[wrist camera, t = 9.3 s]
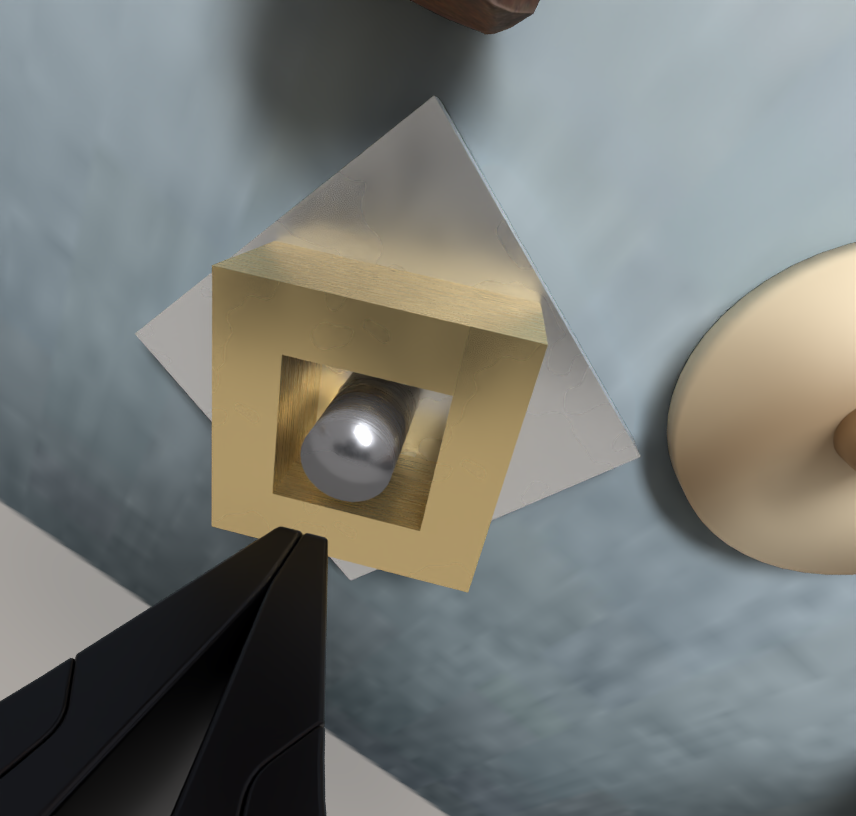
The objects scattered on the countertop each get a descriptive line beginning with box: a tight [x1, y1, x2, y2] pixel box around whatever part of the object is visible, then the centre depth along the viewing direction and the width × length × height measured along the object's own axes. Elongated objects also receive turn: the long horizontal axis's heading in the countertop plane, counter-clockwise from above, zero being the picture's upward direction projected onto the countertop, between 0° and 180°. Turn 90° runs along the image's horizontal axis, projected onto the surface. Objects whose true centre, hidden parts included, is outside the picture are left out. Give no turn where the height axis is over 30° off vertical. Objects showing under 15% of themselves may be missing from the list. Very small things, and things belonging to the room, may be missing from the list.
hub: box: [135, 96, 641, 580], centre depth 13 cm, size 10×10×4 cm
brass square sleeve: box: [212, 241, 548, 592], centre depth 13 cm, size 7×7×3 cm
